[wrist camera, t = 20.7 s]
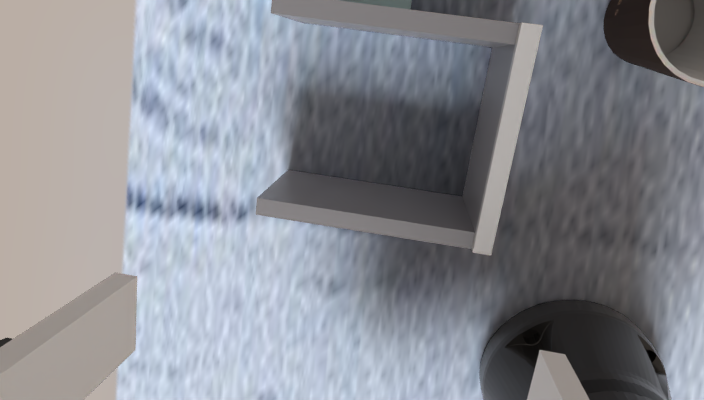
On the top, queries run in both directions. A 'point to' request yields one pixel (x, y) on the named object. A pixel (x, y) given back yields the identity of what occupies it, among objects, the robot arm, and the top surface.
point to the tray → (386, 3)
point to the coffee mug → (659, 36)
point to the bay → (487, 151)
